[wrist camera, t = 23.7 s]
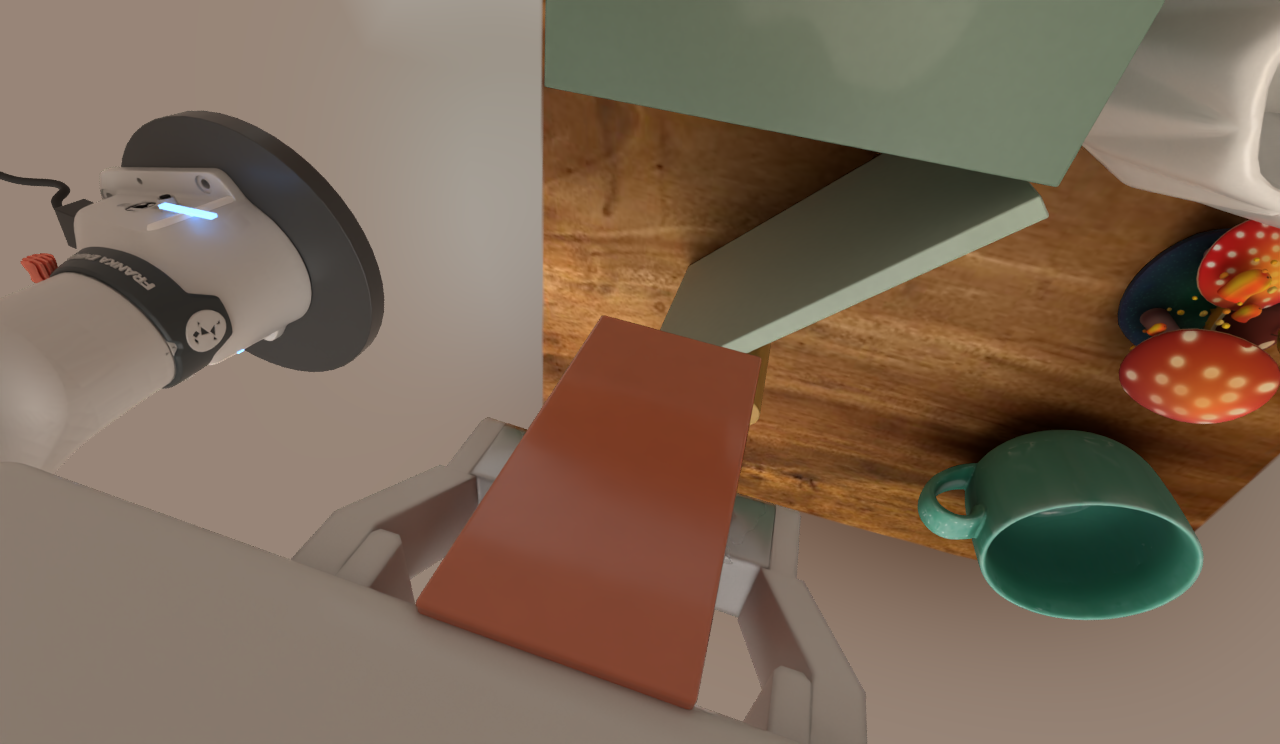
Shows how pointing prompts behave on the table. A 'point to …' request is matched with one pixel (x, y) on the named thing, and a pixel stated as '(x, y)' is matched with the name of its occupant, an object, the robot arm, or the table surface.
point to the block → (612, 515)
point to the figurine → (1205, 325)
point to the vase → (1201, 108)
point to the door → (844, 251)
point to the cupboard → (865, 70)
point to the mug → (1069, 526)
